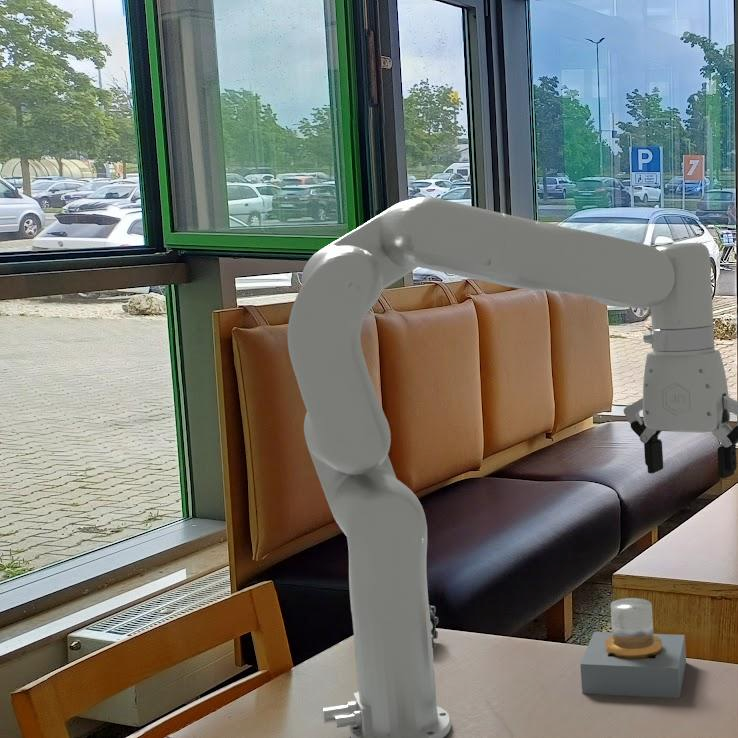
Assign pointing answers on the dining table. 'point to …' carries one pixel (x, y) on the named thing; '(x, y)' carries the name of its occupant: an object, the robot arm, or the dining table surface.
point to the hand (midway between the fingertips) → (690, 473)
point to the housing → (634, 669)
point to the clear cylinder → (632, 630)
